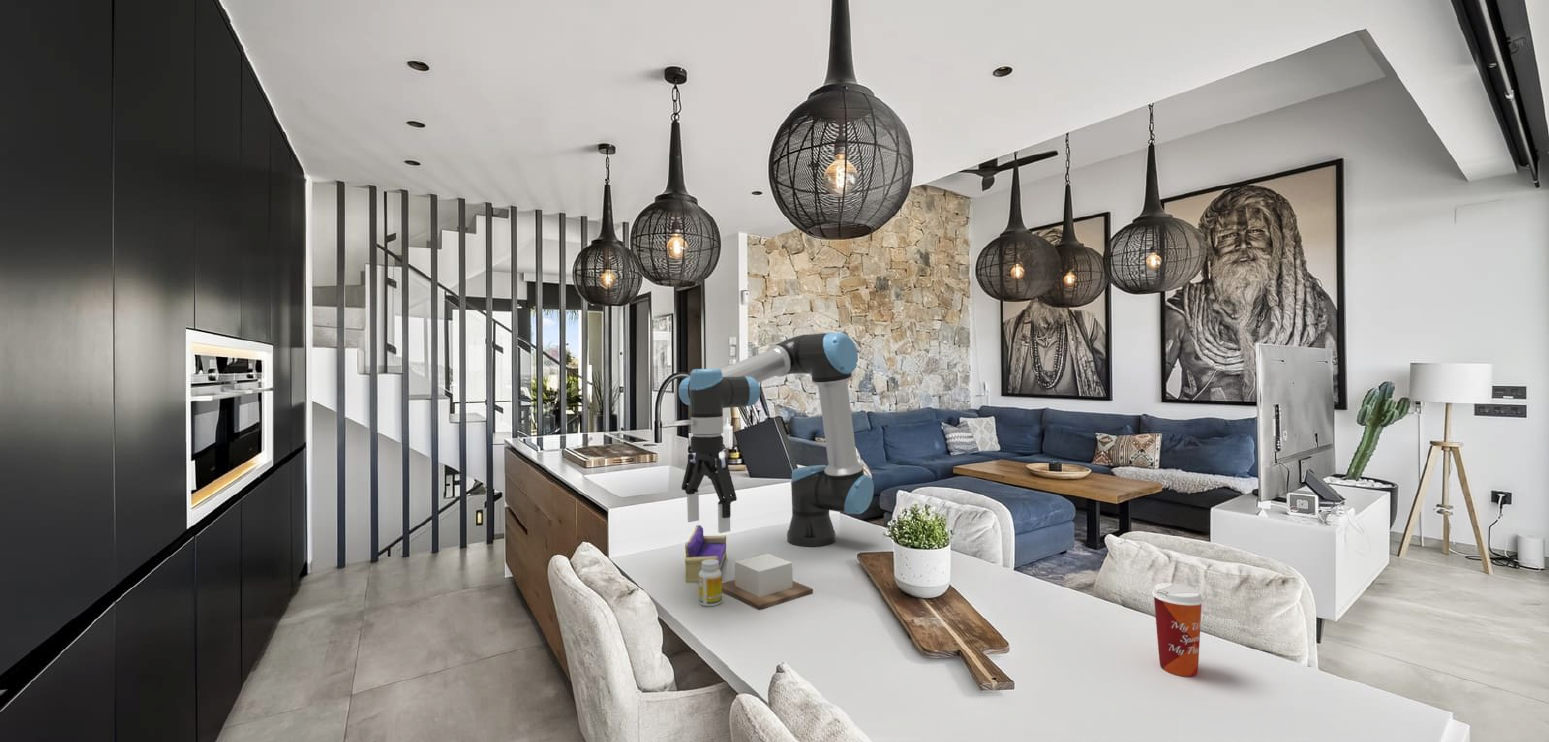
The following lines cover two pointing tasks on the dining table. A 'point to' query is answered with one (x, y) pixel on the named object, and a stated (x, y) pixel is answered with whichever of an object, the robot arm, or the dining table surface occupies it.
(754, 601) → the walnut board
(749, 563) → the white plinth
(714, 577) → the supplement bottle
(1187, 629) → the paper cup
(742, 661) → the dining table surface
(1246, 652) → the dining table surface
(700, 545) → the toy sofa
